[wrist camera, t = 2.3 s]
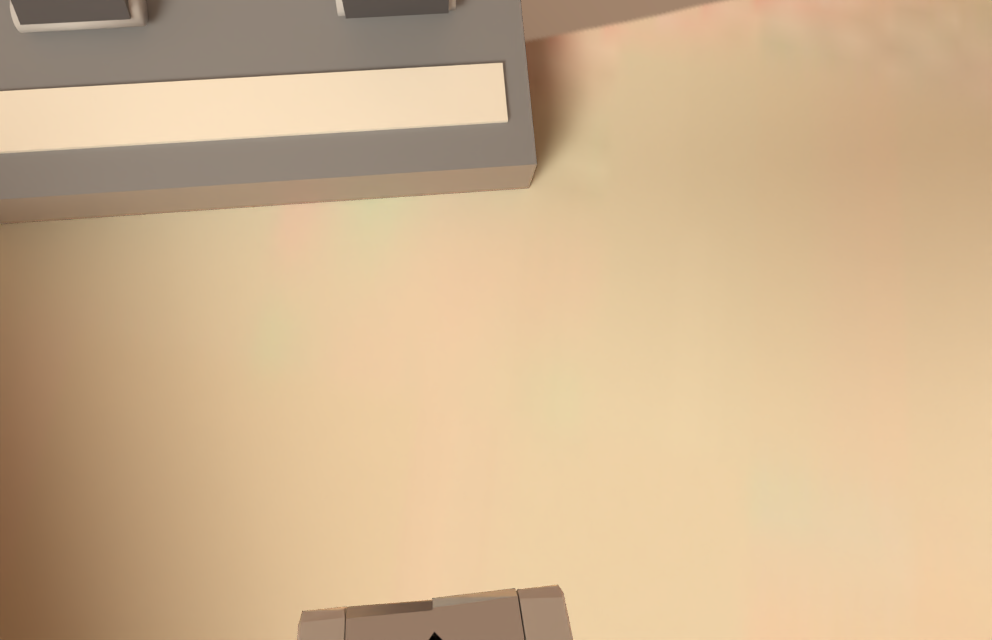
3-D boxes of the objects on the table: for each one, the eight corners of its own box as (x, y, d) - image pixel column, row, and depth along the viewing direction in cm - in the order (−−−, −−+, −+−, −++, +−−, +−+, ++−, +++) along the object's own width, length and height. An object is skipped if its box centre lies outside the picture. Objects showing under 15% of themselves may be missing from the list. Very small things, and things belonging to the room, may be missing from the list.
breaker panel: (495, -153, 42) (501, -207, 38) (528, 188, 39) (537, 162, 36) (-8, -134, 40) (-49, -188, 37) (-5, 224, 38) (-48, 201, 34)
